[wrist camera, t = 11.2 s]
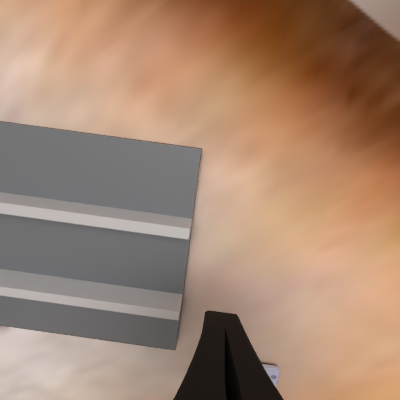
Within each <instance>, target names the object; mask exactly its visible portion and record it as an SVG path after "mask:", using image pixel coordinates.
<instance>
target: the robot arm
mask: <svg viewBox="0 0 400 400" xmlns="http://www.w3.org/2000/svg"><path fill="white" fill-rule="evenodd" d="M279 374H280V371H279V368H278V367H277V366H274V365H267V364H262V363H261V362H260V360H259V358H258V356H257V354H256V352H255V351H254V349H253V347H252V345H251V343H250V341H249V339H248V337H247V335H246V333H245V331H244V328H243V326H242V324H241V322H240V319H239V317H238V316H237V314H230V313H223V312H216V311H207V312H205V317H204V323H203V329H202V334H201V338H200V340H199V343H198V346H197V349H196V352H195V354H194V357H193V359H192V361H191V364H190V366H189V368H188V371H187V373H186V375H185V377H184V379H183V382H182V384H181V386H180V388H179V390H178V392H177V394H176V396H175V397H174V399H173V400H283V398H282V396H281V395H280V393H279V392H278V390H277V389H276V384H277V381H278V378H279Z"/></svg>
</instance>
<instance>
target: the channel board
mask: <svg viewBox="0 0 400 400" xmlns="http://www.w3.org/2000/svg"><path fill="white" fill-rule="evenodd" d="M201 151H202V148H195V147H187V146H180V145H173V144H165V143H158V142H151V141H143V140H136V139H128V138H121V137H114V136H106V135H99V134H92V133H84V132H77V131H70V130H62V129H55V128H48V127H40V126H33V125H25V124H18V123H11V122H3V121H0V325H1V326H8V327H15V328H22V329H29V330H36V331H43V332H50V333H57V334H64V335H71V336H78V337H85V338H92V339H99V340H106V341H113V342H120V343H127V344H134V345H141V346H148V347H155V348H163V349H170V350H175V349H176V343H177V336H178V329H179V321H180V313H181V305H182V298H183V290H184V282H185V275H186V267H187V259H188V251H189V244H190V236H191V228H192V221H193V213H194V205H195V197H196V190H197V182H198V174H199V167H200V159H201Z"/></svg>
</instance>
